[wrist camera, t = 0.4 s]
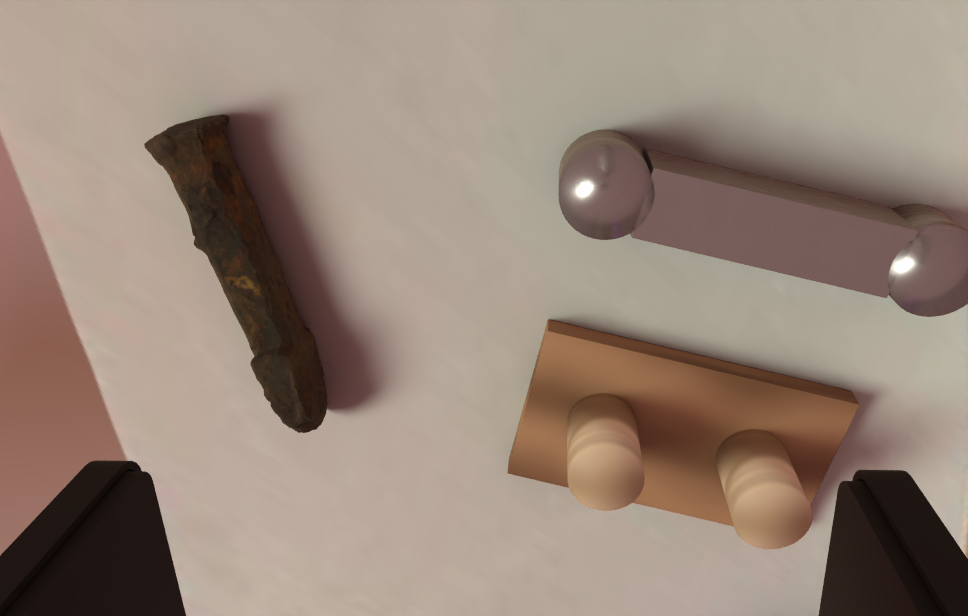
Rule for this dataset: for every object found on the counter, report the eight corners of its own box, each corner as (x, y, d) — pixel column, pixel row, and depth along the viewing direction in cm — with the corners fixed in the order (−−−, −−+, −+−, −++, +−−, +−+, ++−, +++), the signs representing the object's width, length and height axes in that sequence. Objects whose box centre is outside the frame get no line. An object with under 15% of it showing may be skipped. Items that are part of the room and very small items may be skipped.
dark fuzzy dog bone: (166, 123, 44) (124, 143, 40) (232, 106, 43) (196, 124, 39) (287, 414, 51) (262, 457, 47) (345, 404, 50) (325, 446, 46)
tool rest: (548, 319, 46) (545, 379, 40) (851, 391, 46) (896, 462, 40) (509, 458, 51) (501, 533, 44) (786, 524, 51) (818, 607, 44)
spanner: (571, 120, 42) (572, 137, 38) (968, 215, 42) (1007, 241, 38) (549, 203, 44) (548, 227, 40) (929, 294, 44) (962, 325, 40)
